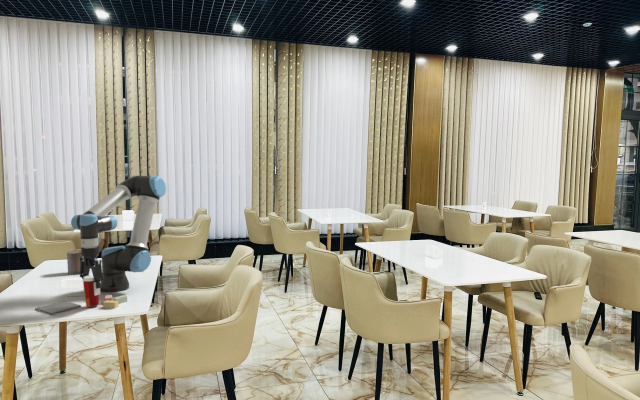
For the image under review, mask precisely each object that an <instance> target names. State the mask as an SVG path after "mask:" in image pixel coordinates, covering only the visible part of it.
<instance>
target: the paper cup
mask: <svg viewBox="0 0 640 400" xmlns="http://www.w3.org/2000/svg"><path fill="white" fill-rule="evenodd" d="M93 281H95V280H94V277H93V274H89V276H85V277H84V278H83V279H82V284H83V283H84V286H83V292H84V291H85V293H84V297H85V299H84V300H85V306H86V307H87V308H90V307H98V306H99V304H100V294H99V295H96V296H95V295H94V282H93Z"/></svg>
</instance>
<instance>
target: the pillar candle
mask: <svg viewBox="0 0 640 400" xmlns="http://www.w3.org/2000/svg"><path fill="white" fill-rule="evenodd" d="M81 257H84V256H82V255H81V249H79V250H77V249H75V250H70V251H67V252H66V259H67V274H68V275H69V274H77V275H80V258H81Z"/></svg>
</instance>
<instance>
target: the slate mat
mask: <svg viewBox="0 0 640 400" xmlns="http://www.w3.org/2000/svg"><path fill="white" fill-rule="evenodd" d="M81 307H82V305H81V304H77V303H74V302H70V301H67V300H62V301H61V300H60V301H58V302H53V303H50V304H49V303H48V304H45V305H41V306H39V307H35V309H34V310H36V311H38V312H43V313H45V314H48V315H51V316H52V315H56V314H60V313H63V312H64V313H65V312H66V311H67V312H68V311H70V310H74V309H78V308H81Z"/></svg>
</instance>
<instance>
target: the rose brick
mask: <svg viewBox="0 0 640 400" xmlns="http://www.w3.org/2000/svg"><path fill="white" fill-rule="evenodd" d="M106 300H109V301H113V294H105V297H104V301H106Z"/></svg>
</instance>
